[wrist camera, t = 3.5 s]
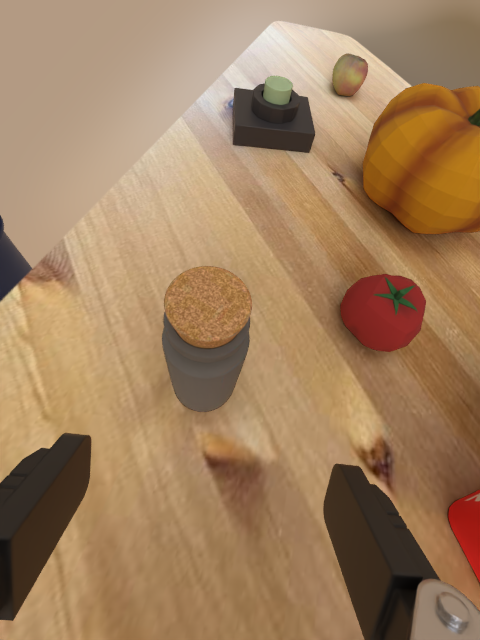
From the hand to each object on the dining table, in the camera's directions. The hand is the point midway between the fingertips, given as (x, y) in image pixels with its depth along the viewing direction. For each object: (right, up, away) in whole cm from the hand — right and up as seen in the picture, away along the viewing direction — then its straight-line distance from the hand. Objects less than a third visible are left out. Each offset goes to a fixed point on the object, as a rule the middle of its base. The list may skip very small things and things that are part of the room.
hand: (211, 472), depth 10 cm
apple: (+20, +48, +49) cm, 71 cm away
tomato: (+15, +4, +25) cm, 30 cm away
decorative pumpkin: (+27, +23, +36) cm, 50 cm away
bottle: (-3, -1, +20) cm, 20 cm away
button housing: (+6, +36, +40) cm, 54 cm away
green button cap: (+6, +38, +36) cm, 53 cm away
